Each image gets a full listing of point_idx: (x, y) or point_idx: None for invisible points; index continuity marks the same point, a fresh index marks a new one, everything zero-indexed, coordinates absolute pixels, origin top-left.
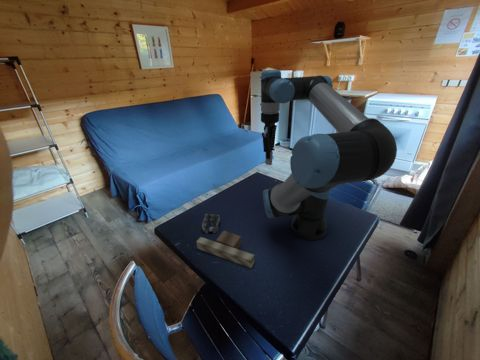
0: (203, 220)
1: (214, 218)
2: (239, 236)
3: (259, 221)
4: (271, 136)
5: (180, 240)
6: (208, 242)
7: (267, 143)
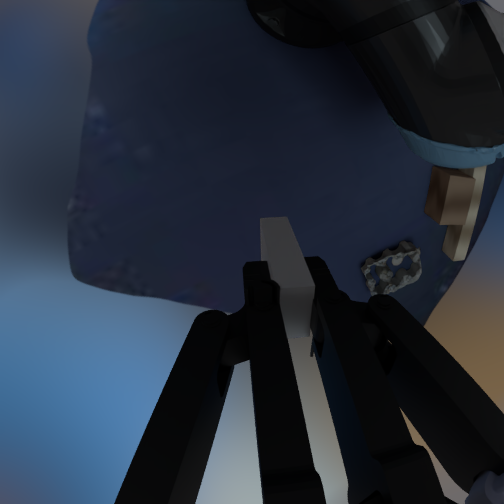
0: (396, 289)
1: (369, 274)
2: (451, 178)
3: (336, 150)
4: (428, 460)
5: (436, 290)
6: (465, 236)
7: (464, 382)
